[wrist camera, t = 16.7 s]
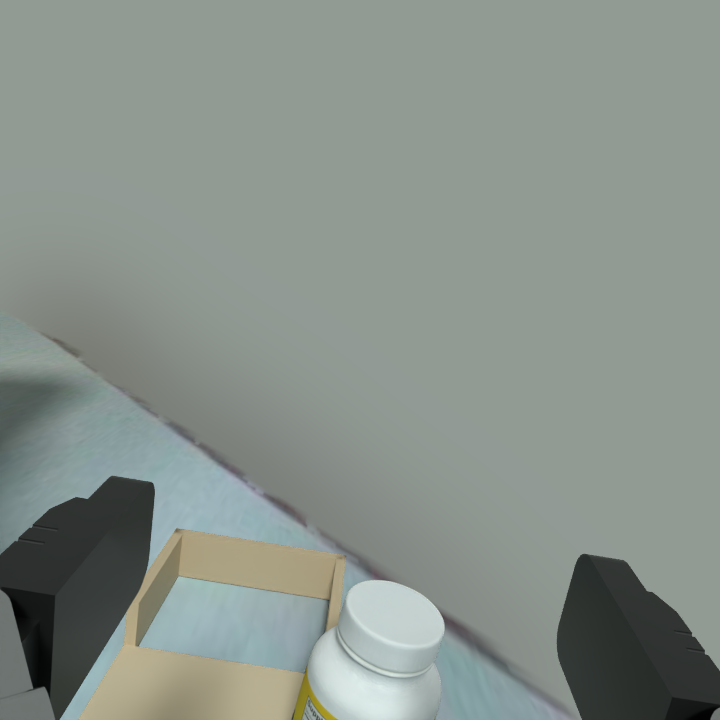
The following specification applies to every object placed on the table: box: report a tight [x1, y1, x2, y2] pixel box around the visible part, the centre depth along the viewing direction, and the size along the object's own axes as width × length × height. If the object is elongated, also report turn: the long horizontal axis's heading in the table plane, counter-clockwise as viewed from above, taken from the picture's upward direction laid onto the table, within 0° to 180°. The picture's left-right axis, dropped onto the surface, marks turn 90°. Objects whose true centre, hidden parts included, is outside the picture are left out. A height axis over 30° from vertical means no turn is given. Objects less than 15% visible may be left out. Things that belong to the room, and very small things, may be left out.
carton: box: [78, 528, 346, 720], centre depth 33 cm, size 17×11×3 cm
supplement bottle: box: [291, 580, 444, 720], centre depth 25 cm, size 5×5×10 cm
